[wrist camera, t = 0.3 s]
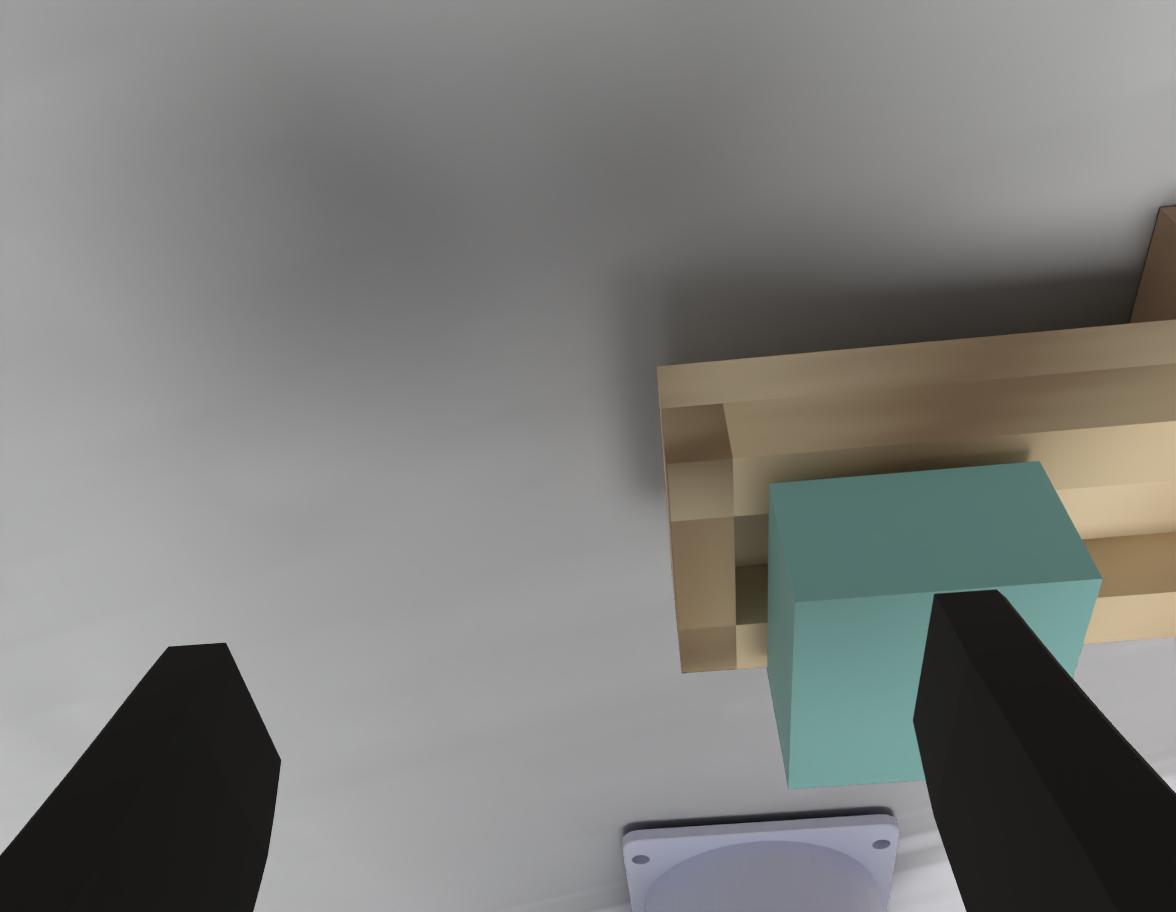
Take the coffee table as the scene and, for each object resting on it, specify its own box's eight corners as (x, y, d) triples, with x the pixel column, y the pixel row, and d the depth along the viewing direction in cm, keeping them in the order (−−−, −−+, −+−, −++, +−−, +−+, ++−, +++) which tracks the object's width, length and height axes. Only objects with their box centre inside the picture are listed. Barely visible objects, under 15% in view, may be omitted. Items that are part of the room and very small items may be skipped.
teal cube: (1009, 404, 17) (1102, 578, 14) (973, 593, 19) (1044, 772, 16) (755, 426, 17) (794, 602, 14) (756, 610, 20) (788, 788, 17)
